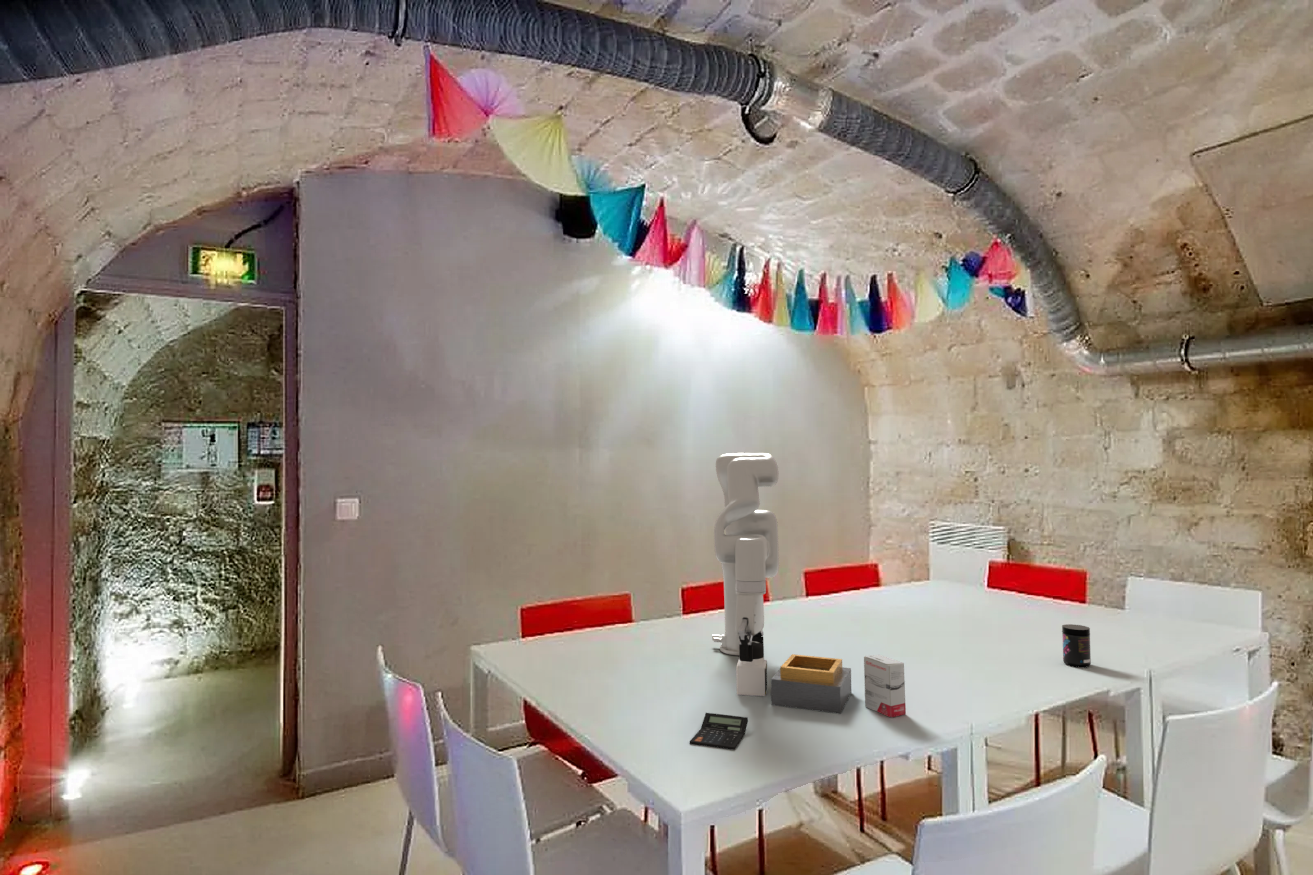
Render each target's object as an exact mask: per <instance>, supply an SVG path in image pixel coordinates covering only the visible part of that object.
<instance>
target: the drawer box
mask: <svg viewBox="0 0 1313 875" xmlns="http://www.w3.org/2000/svg"><path fill="white" fill-rule="evenodd" d="M770 691H771V692H770V696H771V698H770V701H771V703H770V704H771V706H778V707H784V708H785V707H786V708H793V709H799V710H807V711H809V710H810V711H817V712H823V713H830V714H831V713H833V714H840V715H841V714H842V713H843V712H842V711H843V710H844V708H845V707H846V704H847V703H848V701H849V699H850V697H851V694H852V668H851V667H845V666H844V667H843V659H842V658H832V657H825V656H815V655H804V654H793V653H792V654H790V656H789V657H788V658H787V660H785V662H783V663H782V665H781V666H780V668H779V670H778V671H777V672H776V673H775V674H774V675H773V676H772V677H771V679H770Z"/></svg>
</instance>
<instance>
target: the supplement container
mask: <svg viewBox="0 0 1313 875" xmlns="http://www.w3.org/2000/svg"><path fill="white" fill-rule="evenodd" d="M1061 632H1062V637H1061V638H1062V661H1063V664H1064V665H1066V664H1067V665H1066V666H1068V665H1070V666H1069V667H1072V666H1074V667H1073V668H1078V667H1086V668H1089V667H1091V665H1092V662H1091V661H1092V659H1091V628H1090V627H1089V626H1086V625H1081V624H1071V623H1070V624H1069V623H1068V624H1062V625H1061Z"/></svg>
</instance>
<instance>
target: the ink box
mask: <svg viewBox="0 0 1313 875" xmlns="http://www.w3.org/2000/svg"><path fill="white" fill-rule="evenodd" d="M863 668H864V670H863V671H864V673H863V674H864V676H863V677H864V702H865V703H864V707H865V708H867V709H869V710H872V711H875V712H877V713H880V714H882V715H883V716H884V715H885V716H886V717H889V718H896V717H899V716H905V715H906V714H907V713H906V710H907V708H906V686H905V685H906V683H905V682H906V681H905V663H904V662H902V661H899V660H896V659H893V658H890V657H888V656H885V655H882V654H873V655H870V654H868V655H865V656H864V657H863Z"/></svg>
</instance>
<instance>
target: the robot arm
mask: <svg viewBox="0 0 1313 875" xmlns="http://www.w3.org/2000/svg"><path fill="white" fill-rule="evenodd" d="M715 471H716V476H717V479H718V482H719V484H720V487H721V489H722V492H723V497H724V508H723V509H722V510H721V512H720V513H719V515H718V516H717V518H716V521H715V523H714V529H713V535H714V536H713V537H714V538H713V542H714V543H713V544H714V553H715V558H716V559H717V561H718V562H719V563H720V564H721V569H722V577H723V579H722V580H723V596H724V601H723V602H724V633H723V634H721V635H720V634H714V633H713V634H712V636H711V637H712V641H713V643H720V646H719V650H720V652H722V653H724V654H726V655H731V656H738V657H739V659H740V661H747V662H752V661H753V645H751V642H752V641H754V642H759V643H761V644H763V646H764V627H765V607H764V595H765V594H766V593H767V584H766V582H767V581H766V580H767V579H766V578H774V577H776V576H777V575H778V573H779V568H780V557H779V556H780V554H779V550H780V549H779V528H778V521H777V520H778V519H777V517H776V515H775V513H774V512H773V511H771V510H767V509H759V507H760V504H761V503H760V502H761V500H760V494H759V488H760V487H761V488H762V487H764V488H766V487H767V488H768V487H770V488H771V487H774V486H776V485H777V483H778V481H779V467H778V464H777V461H776V459H775V457H774V456H773V455H772V454H771V453H767V452H745V453H744V452H737V453H734V452H732V453H724V454H721V455H719V456H718V457H717V458H716V460H715ZM764 647H765V646H764Z"/></svg>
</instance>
